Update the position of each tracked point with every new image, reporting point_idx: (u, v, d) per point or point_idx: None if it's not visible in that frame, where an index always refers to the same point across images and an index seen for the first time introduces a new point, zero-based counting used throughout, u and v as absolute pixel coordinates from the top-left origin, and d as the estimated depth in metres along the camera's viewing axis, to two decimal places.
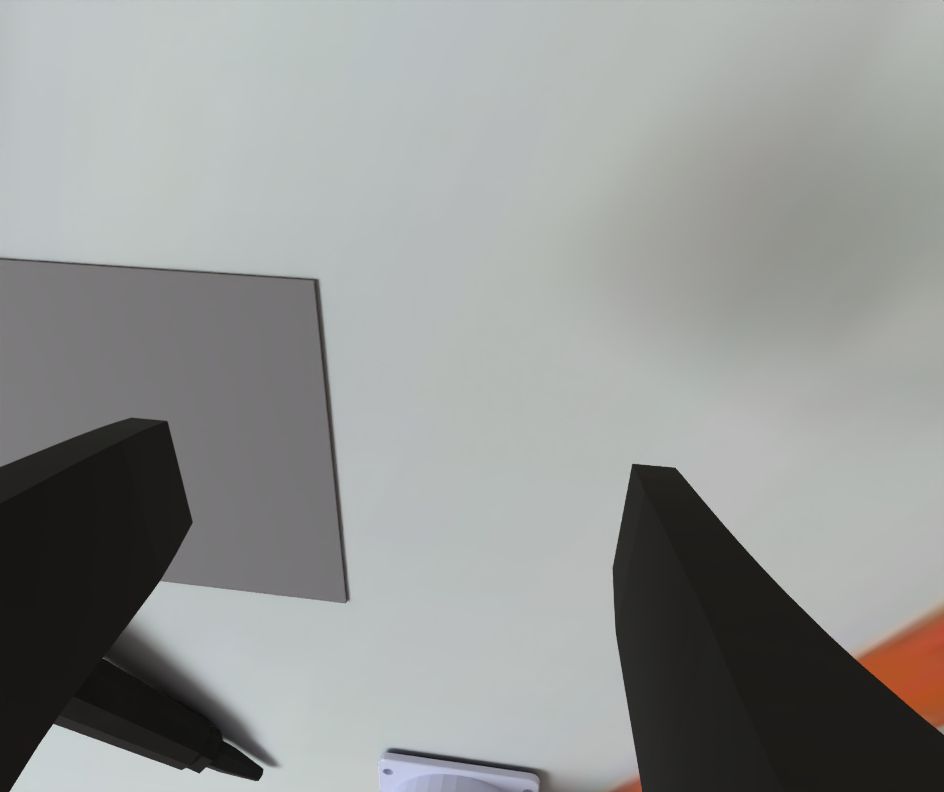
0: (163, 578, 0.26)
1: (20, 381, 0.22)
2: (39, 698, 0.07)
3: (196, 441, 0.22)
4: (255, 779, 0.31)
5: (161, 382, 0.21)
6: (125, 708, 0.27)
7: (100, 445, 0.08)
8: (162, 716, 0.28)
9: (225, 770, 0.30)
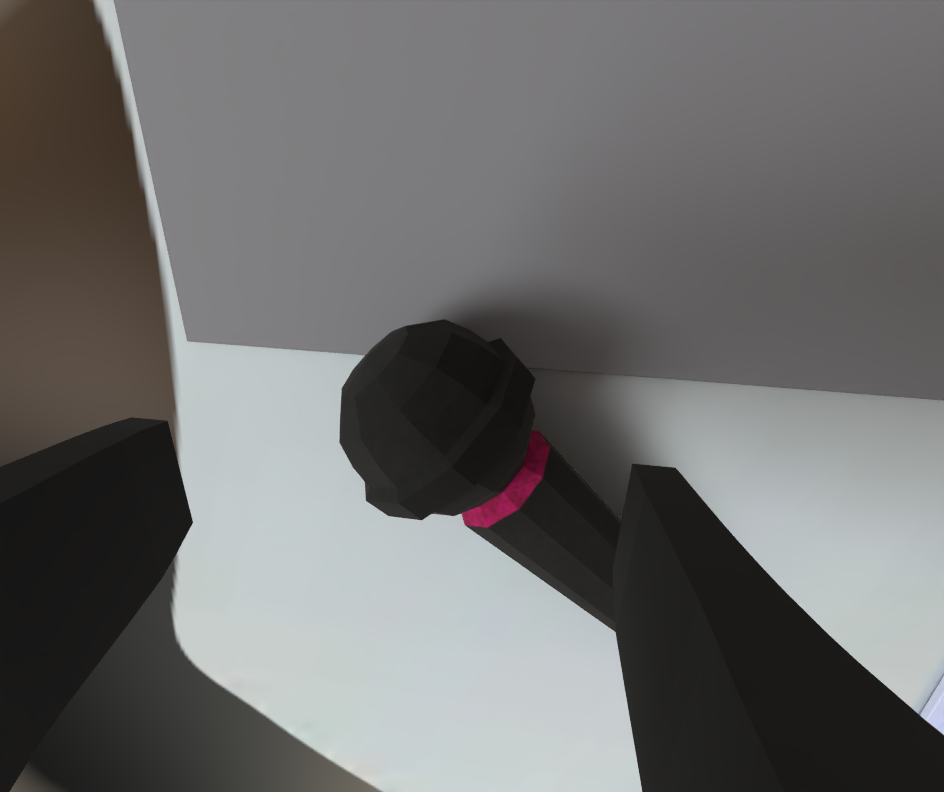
0: (762, 380, 0.17)
1: (705, 3, 0.14)
2: (39, 698, 0.07)
3: None
4: None
5: None
6: None
7: (101, 445, 0.08)
8: None
9: None
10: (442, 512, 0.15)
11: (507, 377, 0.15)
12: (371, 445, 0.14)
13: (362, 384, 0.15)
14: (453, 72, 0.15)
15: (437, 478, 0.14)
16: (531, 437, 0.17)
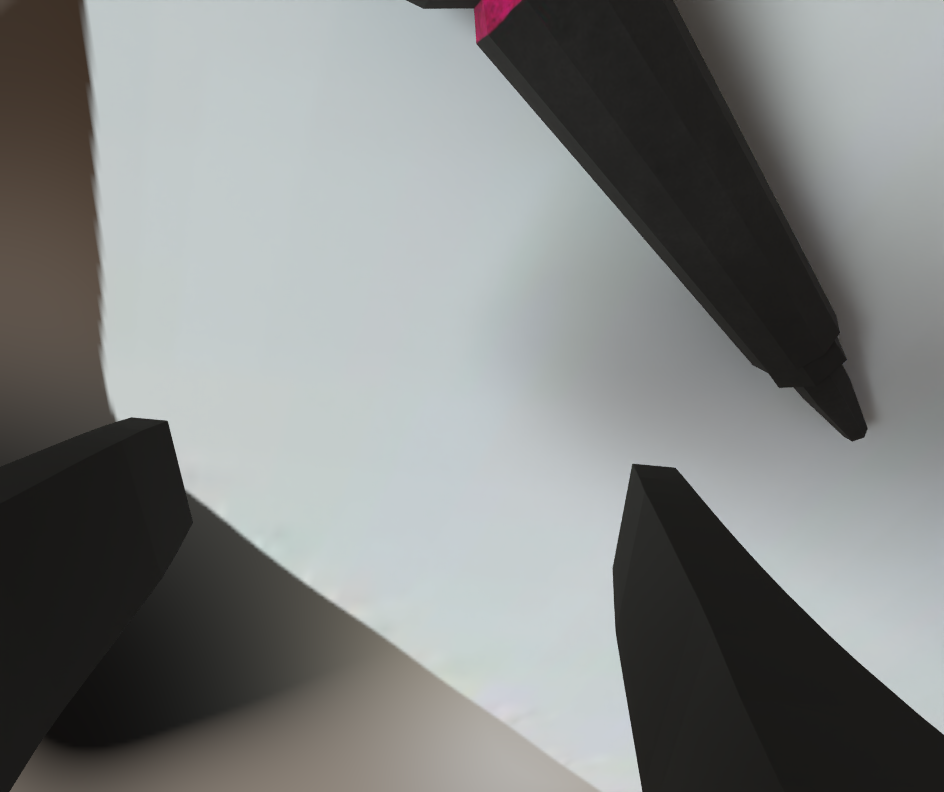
0: None
1: None
2: (39, 698, 0.07)
3: None
4: (860, 434, 0.17)
5: None
6: (766, 187, 0.13)
7: (100, 444, 0.08)
8: None
9: (841, 395, 0.16)
10: None
11: None
12: None
13: None
14: None
15: None
16: None
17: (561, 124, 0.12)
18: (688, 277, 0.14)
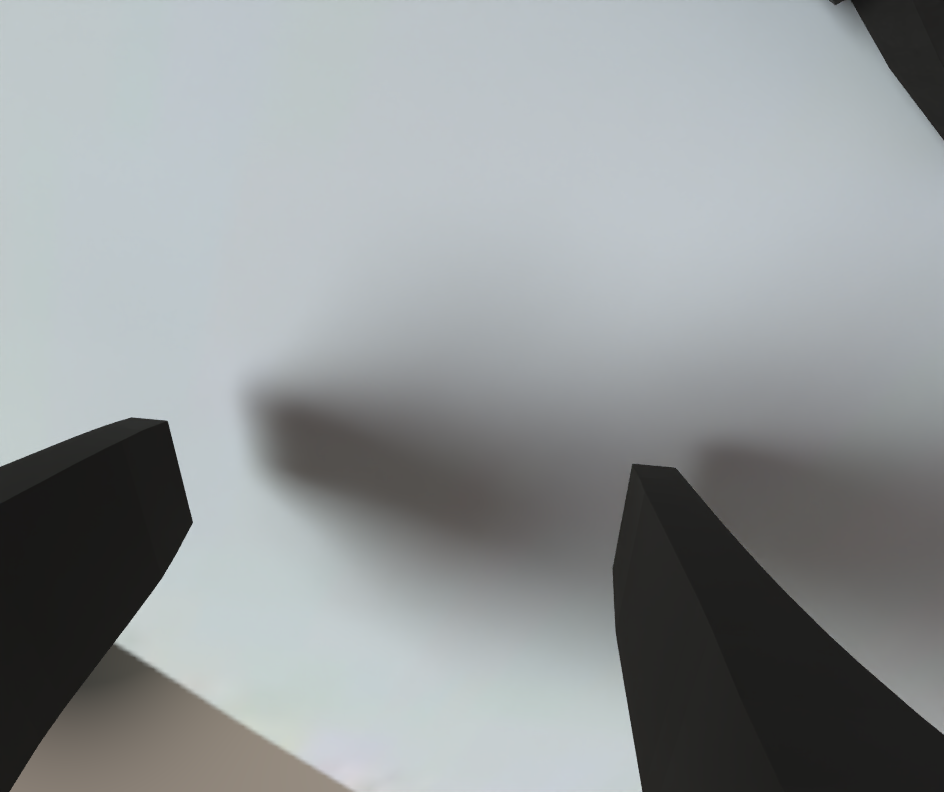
0: None
1: None
2: (39, 698, 0.07)
3: None
4: None
5: None
6: None
7: (100, 445, 0.08)
8: None
9: None
10: None
11: None
12: None
13: None
14: None
15: None
16: None
17: None
18: None
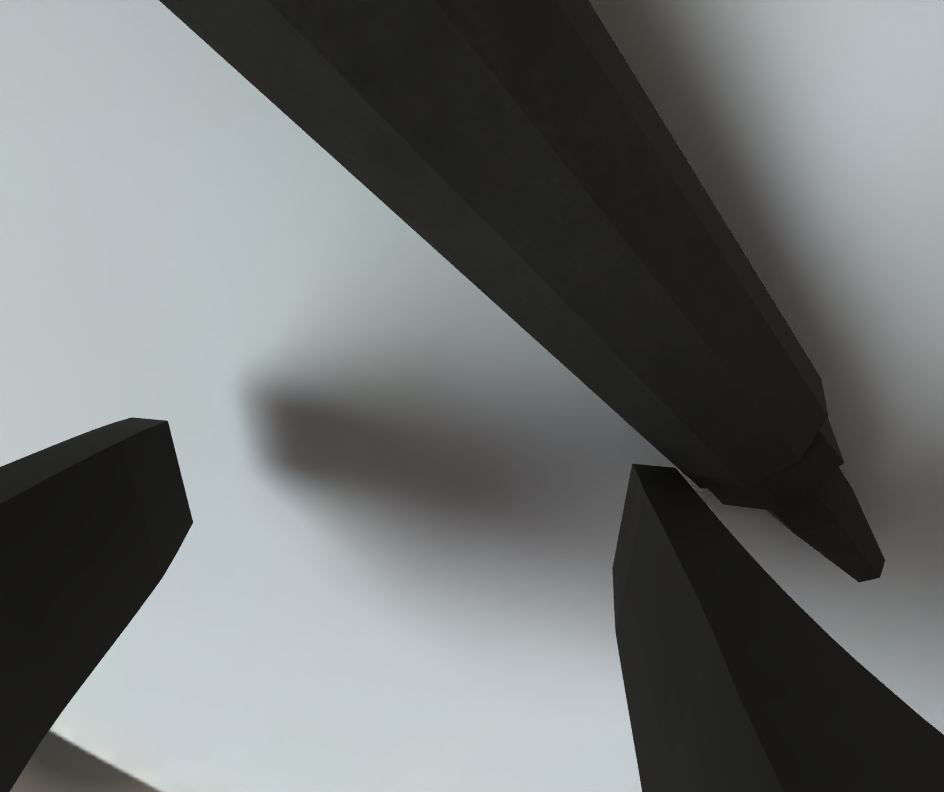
0: None
1: None
2: (39, 698, 0.07)
3: None
4: (872, 572, 0.10)
5: None
6: (651, 125, 0.06)
7: (101, 445, 0.08)
8: (729, 238, 0.07)
9: (836, 519, 0.09)
10: None
11: None
12: None
13: None
14: None
15: None
16: None
17: None
18: (513, 319, 0.07)
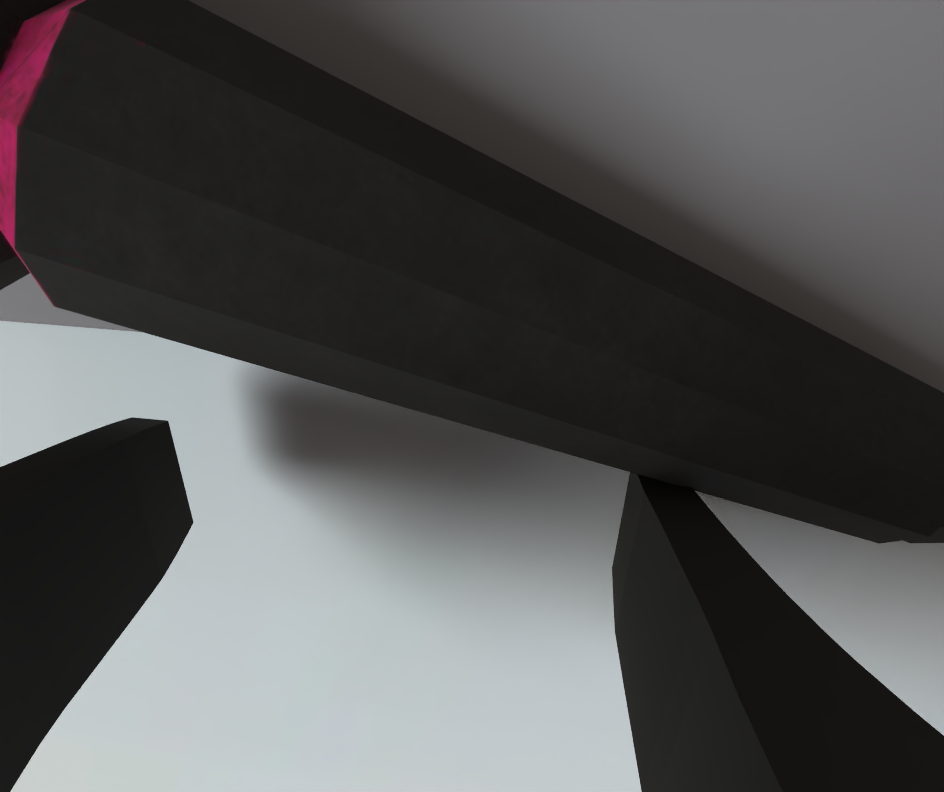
0: None
1: None
2: (40, 698, 0.07)
3: None
4: None
5: None
6: (697, 286, 0.07)
7: (101, 445, 0.08)
8: (808, 329, 0.07)
9: None
10: None
11: None
12: None
13: None
14: None
15: None
16: None
17: (270, 366, 0.07)
18: None
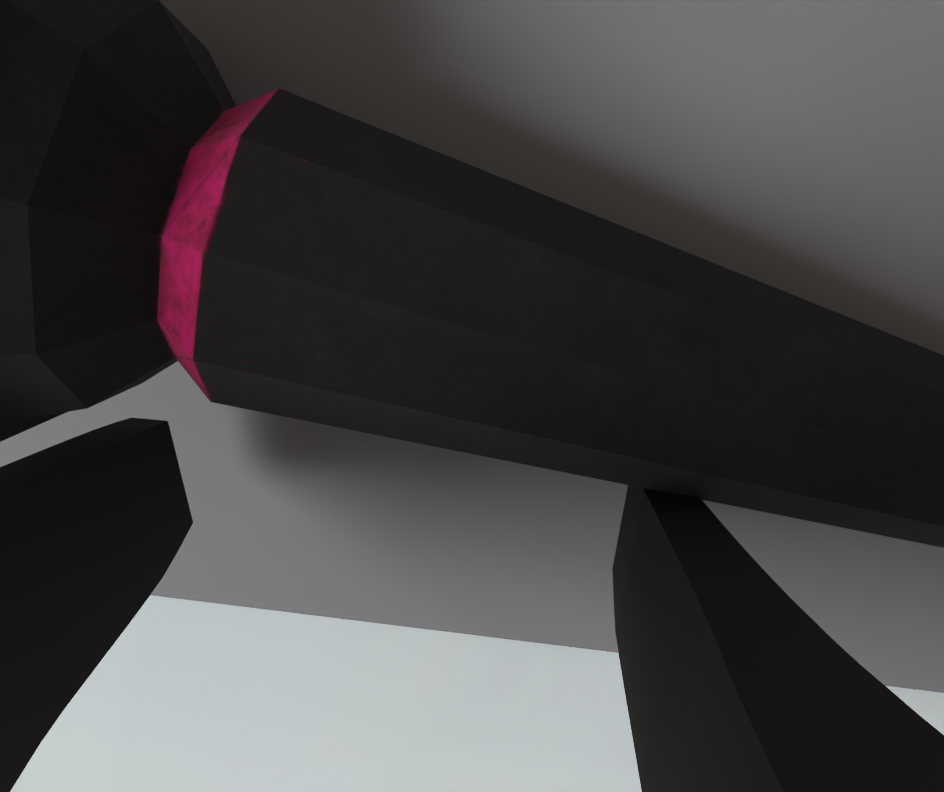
0: None
1: (507, 166, 0.08)
2: (39, 698, 0.07)
3: None
4: None
5: None
6: (824, 329, 0.07)
7: (100, 445, 0.08)
8: (931, 357, 0.07)
9: None
10: None
11: None
12: None
13: None
14: None
15: None
16: None
17: None
18: None
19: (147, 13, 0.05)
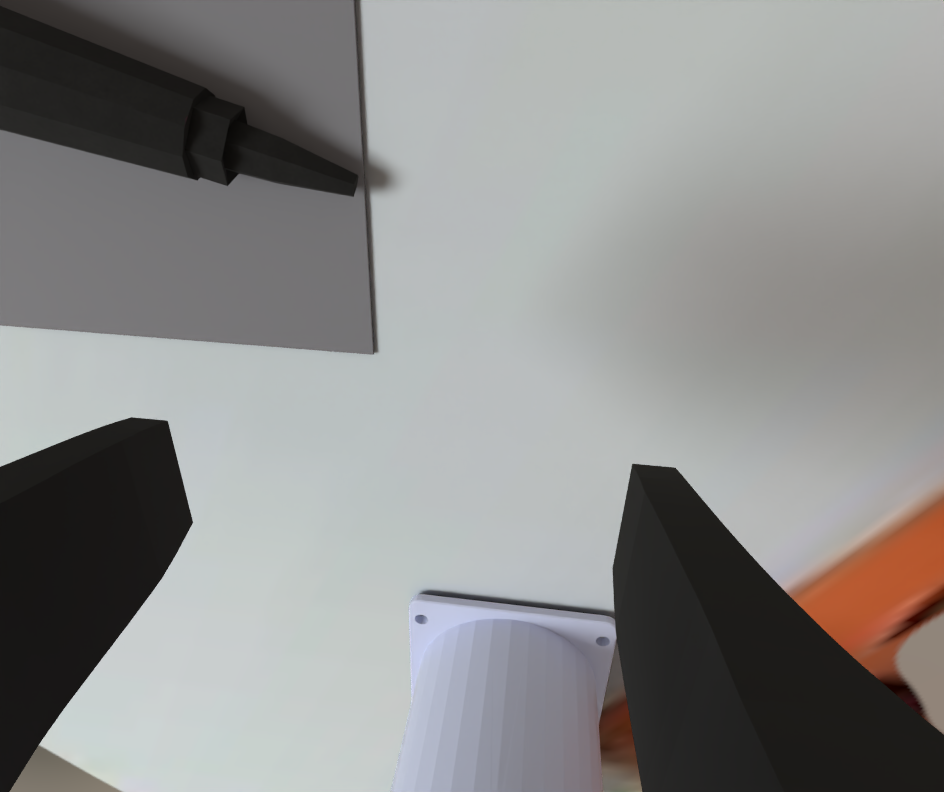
0: (128, 330, 0.19)
1: None
2: (39, 698, 0.07)
3: None
4: (347, 183, 0.15)
5: None
6: (2, 18, 0.14)
7: (101, 445, 0.08)
8: (92, 46, 0.14)
9: (273, 157, 0.15)
10: None
11: None
12: None
13: None
14: None
15: None
16: None
17: None
18: (28, 136, 0.15)
19: None
